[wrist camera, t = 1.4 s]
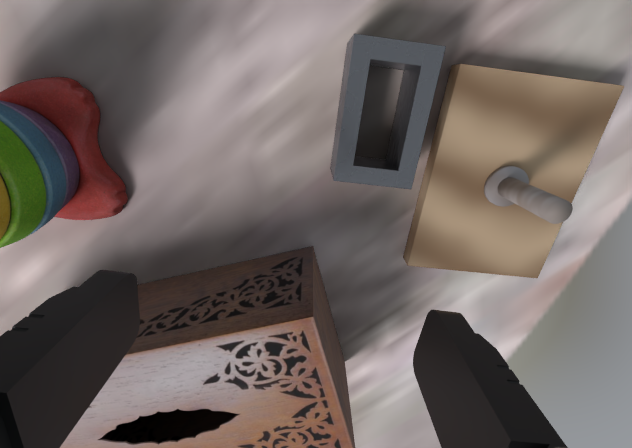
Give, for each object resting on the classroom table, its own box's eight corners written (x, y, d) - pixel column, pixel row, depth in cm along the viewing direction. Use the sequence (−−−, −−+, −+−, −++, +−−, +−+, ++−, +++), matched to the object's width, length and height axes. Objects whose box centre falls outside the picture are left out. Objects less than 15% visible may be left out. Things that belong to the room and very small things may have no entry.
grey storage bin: (347, 43, 22) (354, 33, 19) (423, 53, 23) (445, 46, 19) (330, 167, 26) (333, 180, 22) (397, 175, 26) (411, 189, 22)
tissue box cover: (312, 244, 29) (313, 316, 20) (344, 360, 34) (356, 458, 25) (57, 301, 31) (-51, 390, 22) (125, 401, 36) (62, 507, 27)
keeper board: (451, 65, 23) (511, 54, 16) (606, 86, 24) (727, 83, 17) (403, 257, 29) (431, 308, 22) (527, 269, 30) (592, 323, 23)
